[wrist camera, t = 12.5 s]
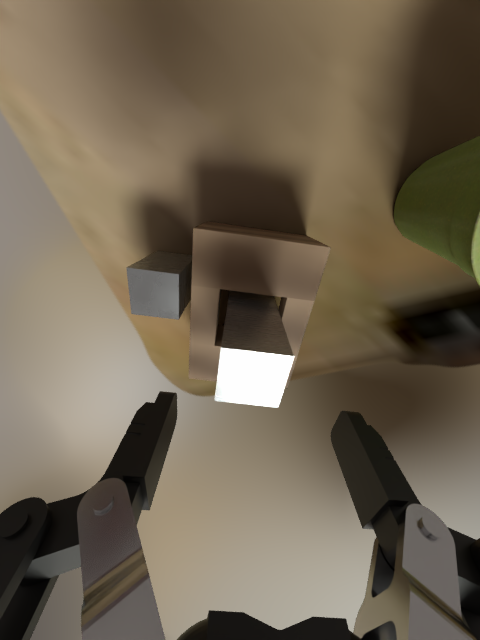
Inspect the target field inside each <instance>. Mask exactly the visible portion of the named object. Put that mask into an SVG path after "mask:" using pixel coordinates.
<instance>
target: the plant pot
mask: <svg viewBox="0 0 480 640" xmlns="http://www.w3.org/2000/svg"><path fill="white" fill-rule="evenodd" d="M394 220H395V224H396V225H397V227H398V229H399V231H400V232H401V234H402V235H403V236H404V237H406V238H407V239H409V240H411V241H413V242H415V243H417V244H418V245H420V246H422V247H424V248H426V249H428V250H430V251H432V252H434V253H436V254H438V255H440V256H441V257H443V258H445V259H447V260H449V261H451V262H453V263H455V264H457V265H458V266H459V267H460V268H461V269H462V270H463V271H464V272H466V273H467V274H469V275H470V276H472V277H474V278H475V279H476V281H477V283H478V285H479V286H480V136H478V137H476V138H473V139H471V140H469V141H467V142H465V143H463V144H460V145H458V146H456V147H454V148H451V149H449V150H447V151H445V152H443V153H441V154H439V155H437V156H434V157H432V158H430V159H429V160H427V161H426V162H425V163H423V164H422V165H421V166H420V167H419V168H417V169H416V170H415V171H414V172H413V173H412V174H411V175H410V176H409V177H408V178H407V180H406V181H405V183H404V184H403V186H402V188H401V190H400V192H399V194H398V196H397V199H396V202H395V207H394Z"/></svg>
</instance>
